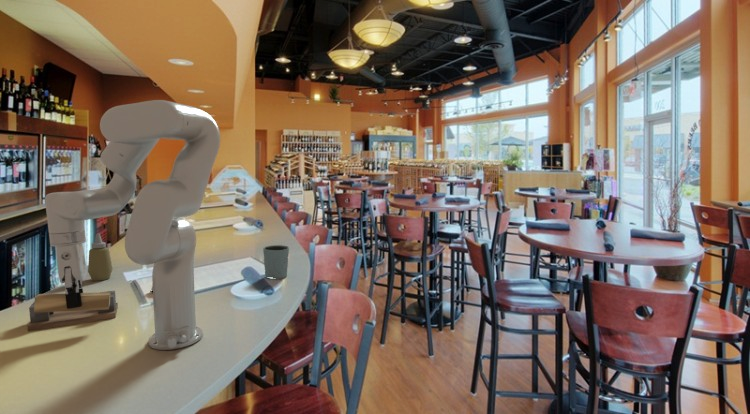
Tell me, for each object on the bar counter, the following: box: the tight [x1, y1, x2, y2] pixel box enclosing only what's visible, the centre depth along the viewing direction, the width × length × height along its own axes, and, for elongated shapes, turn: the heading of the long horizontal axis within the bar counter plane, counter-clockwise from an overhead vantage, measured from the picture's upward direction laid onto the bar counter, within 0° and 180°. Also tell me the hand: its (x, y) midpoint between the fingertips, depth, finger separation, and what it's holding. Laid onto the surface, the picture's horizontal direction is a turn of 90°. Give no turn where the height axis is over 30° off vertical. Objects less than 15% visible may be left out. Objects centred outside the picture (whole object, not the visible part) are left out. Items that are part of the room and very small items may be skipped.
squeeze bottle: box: [87, 233, 114, 282], centre depth 157 cm, size 8×8×18 cm
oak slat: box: [33, 291, 111, 313], centre depth 108 cm, size 3×16×4 cm, turn 119°
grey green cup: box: [262, 244, 290, 280], centre depth 162 cm, size 10×10×12 cm
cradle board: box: [27, 290, 119, 332], centre depth 117 cm, size 10×20×6 cm, turn 119°
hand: (75, 304), depth 108 cm, fingers closed on oak slat, 2 cm apart
